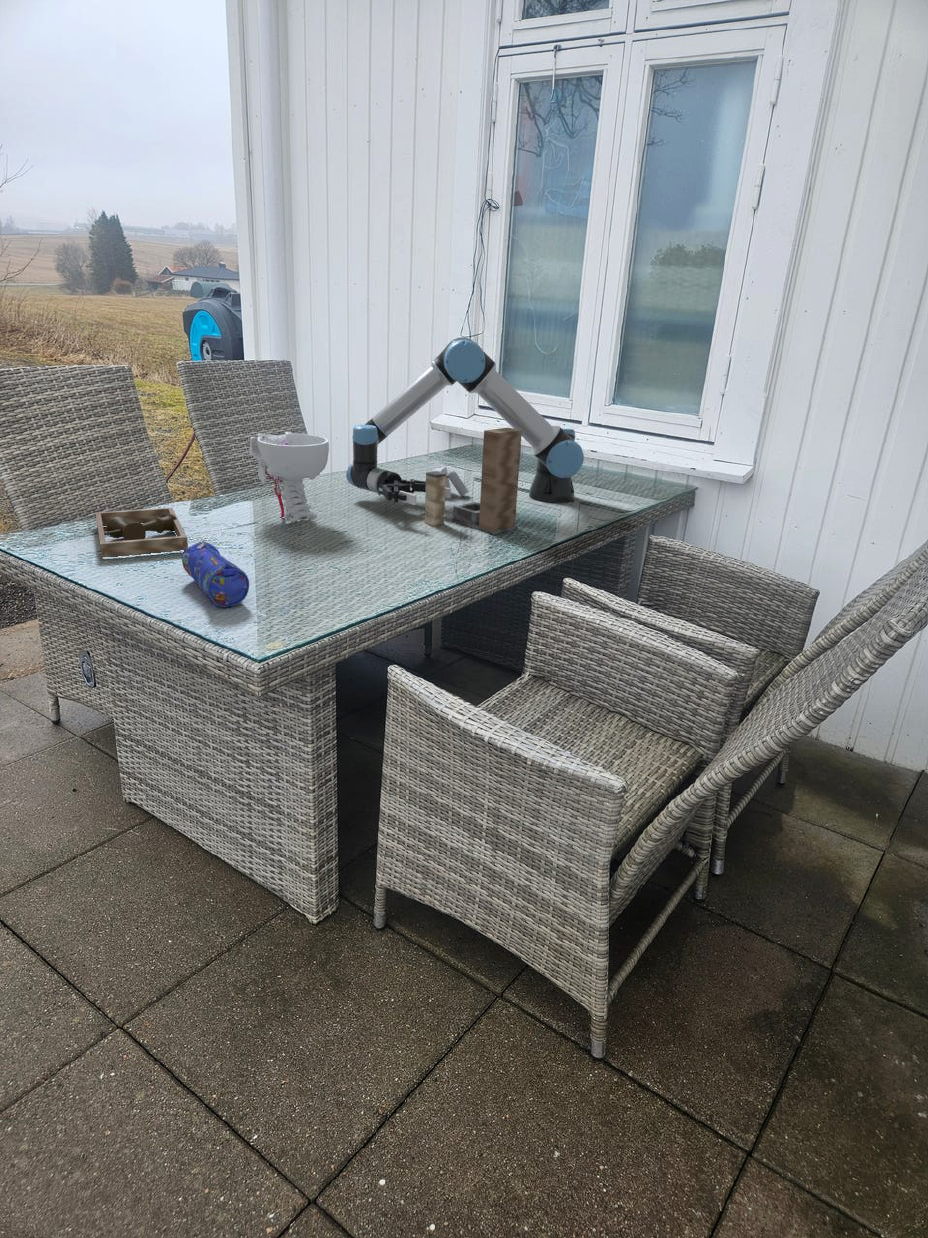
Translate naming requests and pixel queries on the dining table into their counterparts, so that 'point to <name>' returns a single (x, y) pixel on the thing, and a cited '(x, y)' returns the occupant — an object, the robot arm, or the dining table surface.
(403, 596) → the dining table surface
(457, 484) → the wall hook
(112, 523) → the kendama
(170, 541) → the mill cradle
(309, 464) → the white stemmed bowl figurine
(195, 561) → the pencil case
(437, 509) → the beige wooden tall block
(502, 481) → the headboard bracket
